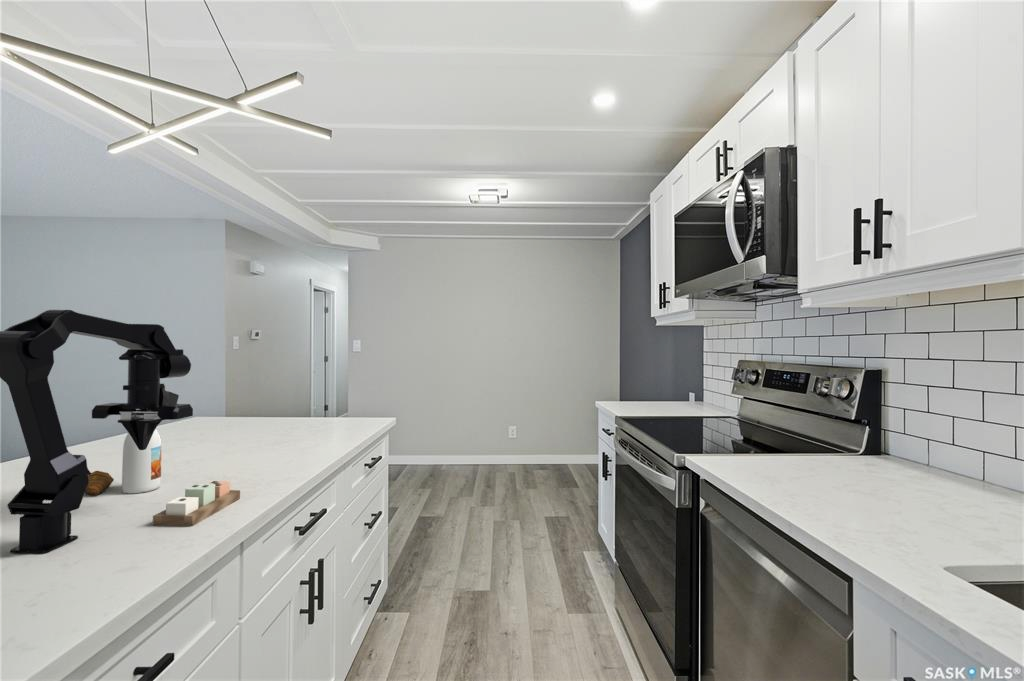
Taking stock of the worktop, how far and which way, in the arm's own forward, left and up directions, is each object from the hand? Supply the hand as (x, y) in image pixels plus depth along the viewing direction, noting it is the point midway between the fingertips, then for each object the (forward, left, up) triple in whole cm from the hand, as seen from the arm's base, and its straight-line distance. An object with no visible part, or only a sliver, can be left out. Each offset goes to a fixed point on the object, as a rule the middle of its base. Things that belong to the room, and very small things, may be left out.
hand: (142, 449), depth 106 cm
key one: (-7, -14, -13) cm, 20 cm away
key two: (-2, -14, -12) cm, 18 cm away
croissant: (+12, +21, -13) cm, 28 cm away
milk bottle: (+13, +10, -13) cm, 21 cm away
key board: (-1, -14, -13) cm, 19 cm away
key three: (+4, -14, -13) cm, 19 cm away
